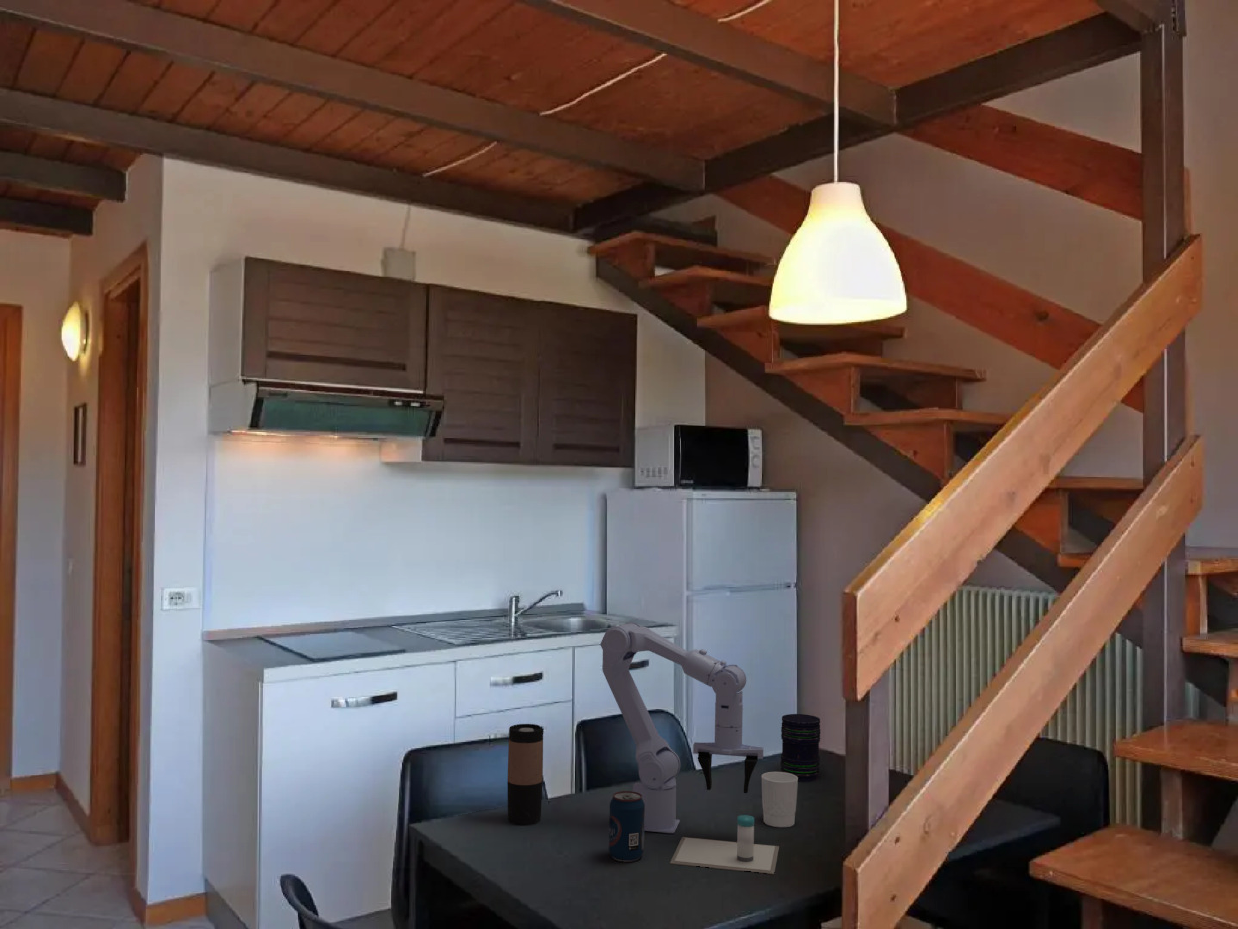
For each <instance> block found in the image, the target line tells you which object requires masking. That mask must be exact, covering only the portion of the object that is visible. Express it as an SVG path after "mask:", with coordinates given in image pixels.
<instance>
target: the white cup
mask: <svg viewBox="0 0 1238 929" xmlns="http://www.w3.org/2000/svg"><path fill="white" fill-rule="evenodd" d="M798 783H799V782H798V777H797V776H795V775H793V774H790V773H785V772H782V771H768V772H765V773H762V774H761V799H762V800H761V801H762V804H761V805H762V810H763V815H762V816H763V823H765V824H766V825H767V826H770V827H775V828H790V827H793V826H794V825H795V817H796V811H797V799H798V786H799V785H798Z"/></svg>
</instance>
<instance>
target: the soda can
mask: <svg viewBox="0 0 1238 929" xmlns="http://www.w3.org/2000/svg"><path fill="white" fill-rule="evenodd" d="M644 819H645V804H644V802H643V799H642V795H641V794H640V793H637V792H633V791H631V790H622V791H620V790H619V791H617V792H615V793H613V794H612V798H611V799H610V802H609V825H608V826H609V828H608V852H609V853H610V856H611V858H612V859H614V861H615V860H616V861H618V862H622V861H623V862H624V863H628V862H629V863H630V862H635V861H639V860H640V859H641V858H642V856H643V853H644V852H645V831H644Z"/></svg>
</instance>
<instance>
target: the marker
mask: <svg viewBox="0 0 1238 929" xmlns="http://www.w3.org/2000/svg"><path fill="white" fill-rule="evenodd" d="M736 821H737V832H736V833H737V836H736V837H737V840H736V842H737V859H738V860H739V861H742V862H751V861H753V853H754V844H755V817H754V816H752V815H748V814H740V815H738V816H737V820H736Z"/></svg>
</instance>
